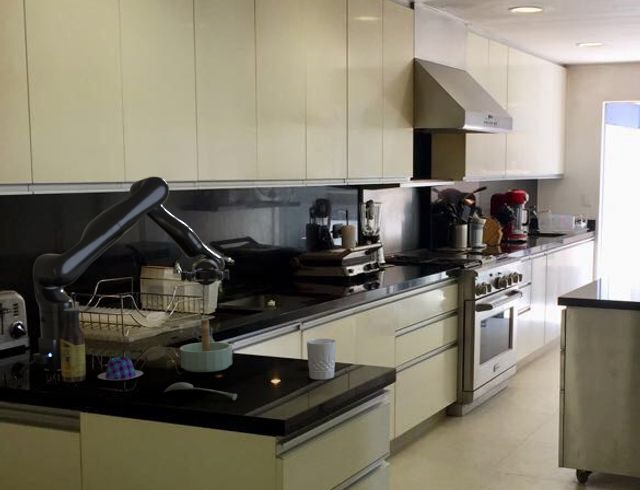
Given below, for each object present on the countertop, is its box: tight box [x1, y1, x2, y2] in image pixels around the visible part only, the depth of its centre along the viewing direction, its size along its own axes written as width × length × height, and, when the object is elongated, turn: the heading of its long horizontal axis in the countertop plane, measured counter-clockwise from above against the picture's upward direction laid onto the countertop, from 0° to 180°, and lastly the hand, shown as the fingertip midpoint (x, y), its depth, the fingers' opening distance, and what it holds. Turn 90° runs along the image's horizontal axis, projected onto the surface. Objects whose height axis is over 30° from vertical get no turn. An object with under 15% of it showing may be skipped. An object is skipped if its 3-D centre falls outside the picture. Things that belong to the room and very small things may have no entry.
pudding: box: [97, 356, 144, 382], centre depth 257 cm, size 12×12×5 cm
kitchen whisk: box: [191, 321, 216, 343], centre depth 299 cm, size 6×34×6 cm, turn 22°
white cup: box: [306, 338, 337, 381], centre depth 254 cm, size 8×8×10 cm
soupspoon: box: [163, 381, 238, 401], centre depth 235 cm, size 22×3×7 cm
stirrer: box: [200, 319, 211, 351], centre depth 268 cm, size 5×5×13 cm
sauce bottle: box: [60, 307, 87, 384], centre depth 252 cm, size 7×6×20 cm
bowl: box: [179, 341, 234, 373], centre depth 268 cm, size 15×15×6 cm
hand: (204, 277), depth 276 cm, fingers open, 8 cm apart
